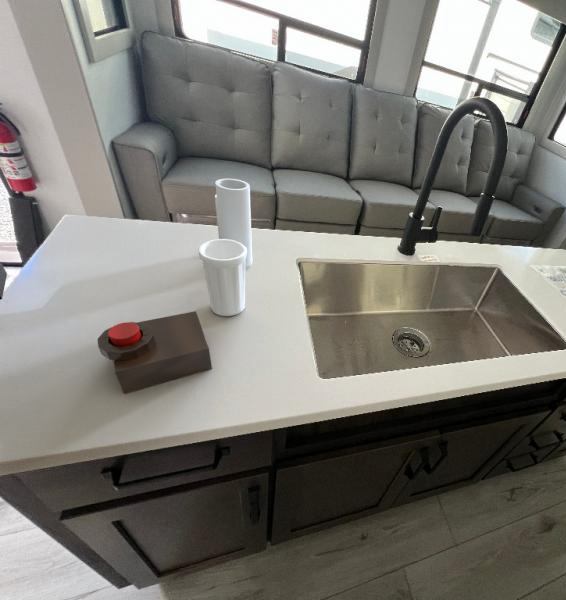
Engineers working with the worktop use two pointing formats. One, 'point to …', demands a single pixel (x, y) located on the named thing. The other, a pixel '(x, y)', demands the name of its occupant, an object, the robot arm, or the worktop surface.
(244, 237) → the vase
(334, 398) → the worktop surface
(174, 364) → the switch block
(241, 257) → the cup
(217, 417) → the worktop surface
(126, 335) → the led button
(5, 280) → the robot arm
